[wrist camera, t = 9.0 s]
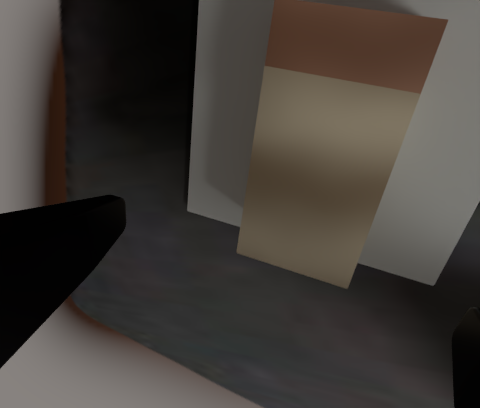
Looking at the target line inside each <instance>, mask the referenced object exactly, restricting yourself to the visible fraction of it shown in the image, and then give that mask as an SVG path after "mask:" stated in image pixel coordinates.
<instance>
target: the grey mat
mask: <svg viewBox="0 0 480 408" xmlns="http://www.w3.org/2000/svg"><path fill="white" fill-rule="evenodd" d="M299 1H307V2H315V3H323V4H331V5H338V6H346V7H354V8H362V9H370V10H377V11H385V12H393V13H401V14H409V15H417V16H424V17H432V18H440V19H448V23H447V25H446V28H445V31H444V33H443V36H442V39H441V41H440V44H439V47H438V49H437V52H436V55H435V57H434V60H433V63H432V65H431V68H430V71H429V73H428V76H427V79H426V81H425V84H424V87H423V89H422V92H421V95H420V97H419V100H418V103H417V105H416V108H415V111H414V113H413V116H412V119H411V121H410V124H409V127H408V129H407V132H406V135H405V137H404V140H403V143H402V145H401V148H400V151H399V153H398V156H397V159H396V161H395V164H394V167H393V169H392V172H391V175H390V177H389V180H388V183H387V185H386V188H385V191H384V193H383V196H382V199H381V201H380V204H379V207H378V209H377V212H376V215H375V217H374V220H373V223H372V225H371V228H370V231H369V233H368V236H367V239H366V241H365V244H364V246H363V249H362V252H361V254H360V257H359V260H358V262H357V263H359V264H363V265H366V266H369V267H372V268H376V269H379V270H382V271H386V272H389V273H392V274H395V275H399V276H402V277H405V278H409V279H412V280H415V281H418V282H422V283H425V284H428V285H432V286H434V285H435V283H436V281H437V279H438V277H439V275H440V274H441V272H442V270H443V268H444V266H445V264H446V262H447V261H448V259H449V257H450V255H451V253H452V251H453V249H454V248H455V246H456V244H457V242H458V240H459V238H460V236H461V235H462V233H463V231H464V229H465V227H466V225H467V223H468V222H469V220H470V218H471V216H472V214H473V212H474V210H475V209H476V207H477V205H478V203H479V201H480V0H299ZM273 6H274V0H199V10H198V28H197V46H196V64H195V82H194V99H193V117H192V135H191V153H190V171H189V189H188V207H187V211H189V212H192V213H195V214H199V215H202V216H205V217H209V218H212V219H215V220H218V221H222V222H225V223H228V224H232V225H235V226H238V227H240V226H241V220H242V213H243V206H244V200H245V193H246V186H247V180H248V173H249V166H250V160H251V153H252V146H253V140H254V133H255V126H256V120H257V113H258V106H259V100H260V93H261V86H262V80H263V73H264V66H265V60H266V53H267V46H268V40H269V33H270V26H271V20H272V13H273Z"/></svg>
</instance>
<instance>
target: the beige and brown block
mask: <svg viewBox="0 0 480 408" xmlns="http://www.w3.org/2000/svg"><path fill="white" fill-rule="evenodd" d="M447 23H448V19H440V18H432V17H424V16H417V15H409V14H401V13H393V12H385V11H377V10H370V9H362V8H354V7H346V6H338V5H331V4H323V3H315V2H307V1H299V0H274V6H273V13H272V20H271V26H270V33H269V40H268V46H267V53H266V60H265V66H264V73H263V80H262V86H261V93H260V100H259V106H258V113H257V120H256V126H255V133H254V140H253V146H252V153H251V160H250V166H249V173H248V180H247V186H246V193H245V200H244V206H243V213H242V220H241V226H240V233H239V240H238V246H237V253H238V254H241V255H244V256H247V257H250V258H254V259H257V260H260V261H263V262H266V263H269V264H272V265H275V266H278V267H281V268H284V269H287V270H290V271H293V272H296V273H300V274H303V275H306V276H309V277H312V278H315V279H318V280H321V281H324V282H327V283H330V284H333V285H336V286H339V287H342V288H346V289H348V286H349V284H350V281H351V278H352V276H353V273H354V270H355V268H356V265H357V262H358V260H359V257H360V254H361V252H362V249H363V246H364V244H365V241H366V239H367V236H368V233H369V231H370V228H371V225H372V223H373V220H374V217H375V215H376V212H377V209H378V207H379V204H380V201H381V199H382V196H383V193H384V191H385V188H386V185H387V183H388V180H389V177H390V175H391V172H392V169H393V167H394V164H395V161H396V159H397V156H398V153H399V151H400V148H401V145H402V143H403V140H404V137H405V135H406V132H407V129H408V127H409V124H410V121H411V119H412V116H413V113H414V111H415V108H416V105H417V103H418V100H419V97H420V95H421V92H422V89H423V87H424V84H425V81H426V79H427V76H428V73H429V71H430V68H431V65H432V63H433V60H434V57H435V55H436V52H437V49H438V47H439V44H440V41H441V39H442V36H443V33H444V31H445V28H446V25H447Z"/></svg>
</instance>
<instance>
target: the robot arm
mask: <svg viewBox="0 0 480 408" xmlns="http://www.w3.org/2000/svg"><path fill="white" fill-rule="evenodd" d="M125 227H126V207H125V201H124V199H123V198H120V197H117V196H114V195H105V196H99V197H94V198H88V199H82V200H76V201H71V202H65V203H60V204H54V205H48V206H42V207H37V208H31V209H25V210H20V211H14V212H8V213H3V214H0V368H1V367H2V366H3V365H4V364H5V363H6V362H7V361H8V360H9V359H10V358H11V357H12V356H13V355H14V354H15V352H16V351H17V350H18V349H19V348H20V347H21V346H22V345H23V344H24V343H25V342H26V341H27V340H28V339H29V338H30V337H31V336H32V334H33V333H34V332H35V331H36V330H37V329H38V328H39V327H40V326H41V325H42V324H43V323H44V322H45V321H46V320H47V319H48V318H49V317H50V315H51V314H52V313H53V312H54V311H55V310H56V309H57V308H58V307H59V306H60V305H61V304H62V303H63V302H64V301H65V300H66V299H67V298H68V296H69V295H70V294H71V293H72V292H73V291H74V290H75V289H76V288H77V287H78V286H79V285H80V284H81V283H82V282H83V281H84V280H85V279H86V278H87V276H88V275H89V274H90V273H91V272H92V271H93V270H94V269H95V267H96V266H97V265H98V264H99V262H100V261H101V260H102V258H103V257H104V256H105V255H106V253H107V252H108V251H109V249H110V248H111V247H112V246H113V244H114V243H115V242H116V240H117V239H118V238H119V236H120V235H121V234H122V233H123V231H124V229H125ZM452 361H453V390H454V407H455V408H480V309H479V308H476V307H472V308H470V309H468V310H467V312H466V313H465V315H464V317H463V318H462V320H461V321H460V323H459V324H458V326H457V328H456V329H455V331H454V333H453V337H452Z"/></svg>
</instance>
